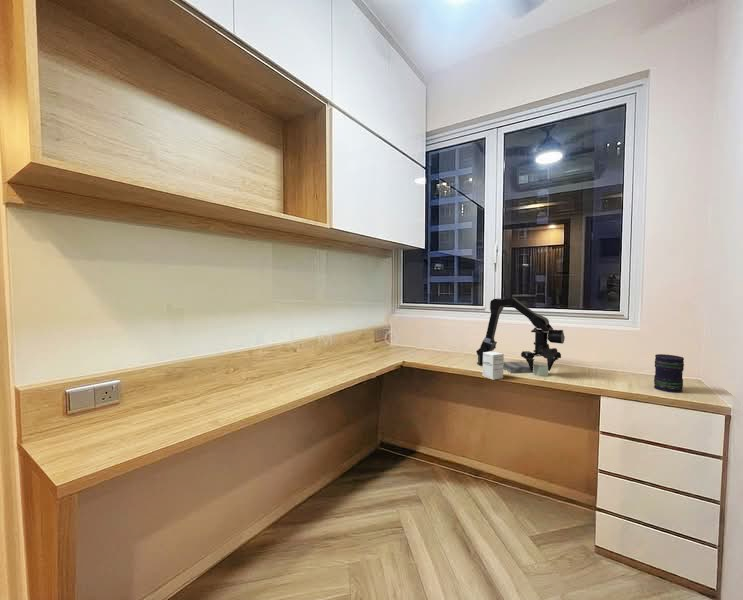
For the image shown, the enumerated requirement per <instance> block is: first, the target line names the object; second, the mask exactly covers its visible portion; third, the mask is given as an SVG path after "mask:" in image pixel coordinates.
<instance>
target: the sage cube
mask: <svg viewBox="0 0 743 600" xmlns="http://www.w3.org/2000/svg"><path fill="white" fill-rule="evenodd" d="M533 374H534V375H535V376H538V377H548V376H549V371H548V365H545V364H543V363H539V364H537V363H533Z"/></svg>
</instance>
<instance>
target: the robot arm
mask: <svg viewBox="0 0 743 600" xmlns="http://www.w3.org/2000/svg"><path fill="white" fill-rule="evenodd" d="M489 303H490V304H489V309H490V310H489V311H490V316H489V321H488V325H487V329H486V334H485V337H484V339H483V340H482V342H481V344H480V348H478V349H477V350H476V354H477V362H476V364H477V365H478V366H481V367H483V352H490V351H494V350H495V349H496V348H497V343H498V342H497V341H495V337H496V336H495V335H496V330H497V326H498V322H499V318H500V315H501V314H502V311H503V310H504V307H505V306H511V307H513V308H514V309H515V310H516V311H518V312H519V313H521V314H522V315H523V316H524V317H526V318H527V319H528V320H529V321H530V323H531V324H532V326H534V327H533V329H532V330H530V332H531V333H535V334H534V336H535V337H534V338H535V339H534V342H533V345H534V350H533V352H531V351H530V350H522V352H521V353H520V356H521V357H522V358H523V359H525V360H526V363H527V365H529V367H530V369H531V371H533V366H534V362H535V357H543V358H544V359H546V360H547V361H546V362H547V365H546V366H548V372H550V371H551V369H552V367H553V365H554V363H555V362H556V361H557V360H559V359H561V358H562V354H561V352H559V351H558V349H557V348H555V347H553V348H552V347H550V345H549V343H548V342H550V343H551V344H553V343H554V344H562V345H563V344H564V343H565V333H564V329H554V328H553V326H552V325H551V324H550V321H549V319H548V318H547V317H545V316H543V315H541V314H538V313H536V312H534V310H532V309H531V308H529V307H528V306H526V305H525V304H523V303H522V302H520V301H519V300H518V299H517V298H516V297H510V298H506V299H502V298H498V297H497V298H493V299H491V300H490V302H489Z"/></svg>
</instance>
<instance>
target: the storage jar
mask: <svg viewBox="0 0 743 600" xmlns="http://www.w3.org/2000/svg"><path fill="white" fill-rule="evenodd" d="M654 357H655V358H654V368H655V370H654V371H655V374H654V377H653V382H654V383H653V384H654V386H653V389H655V390H658V391H661V392H666V393H672V394H674V393H675V394H681V393H683V387H684V379H683V372H684V370H685V369H684V368H685V364H684V363H685V361H684V359H685V357H683V356H679V355H674V354H667V353H666V354H662V353H661V354H657V353H656V354H655V355H654Z"/></svg>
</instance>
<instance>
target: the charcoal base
mask: <svg viewBox="0 0 743 600" xmlns="http://www.w3.org/2000/svg"><path fill="white" fill-rule="evenodd" d="M503 370H504V371H506V370H507V372H508V373H510V374H527V373H529V374H530V373H533V371H531V369H530V367H529V364H528V363H525V362H522V361H503Z"/></svg>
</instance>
